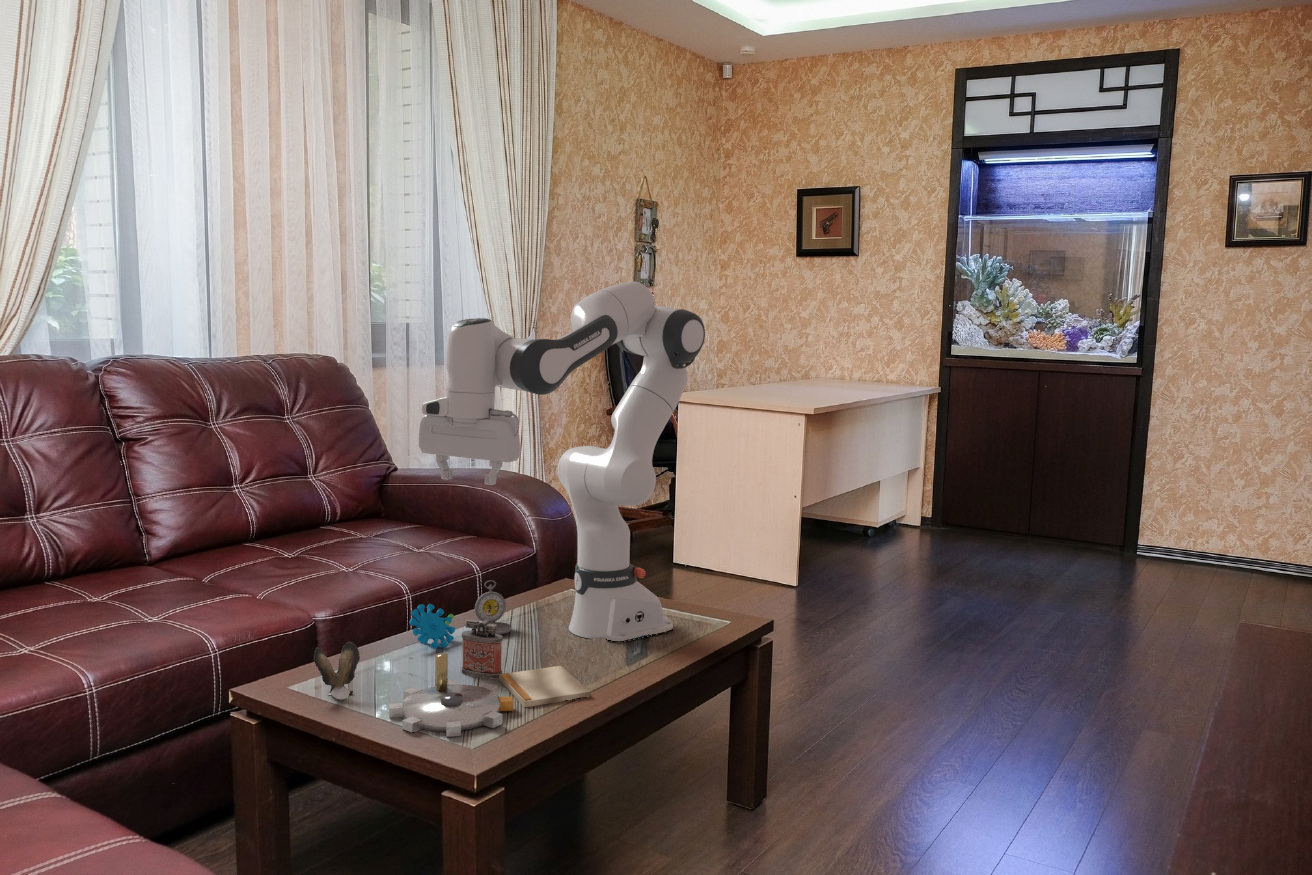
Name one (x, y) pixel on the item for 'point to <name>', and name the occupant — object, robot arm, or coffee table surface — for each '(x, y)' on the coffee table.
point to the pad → (543, 686)
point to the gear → (432, 626)
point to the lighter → (481, 650)
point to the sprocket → (450, 705)
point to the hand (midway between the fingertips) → (468, 481)
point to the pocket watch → (492, 609)
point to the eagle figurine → (344, 672)
